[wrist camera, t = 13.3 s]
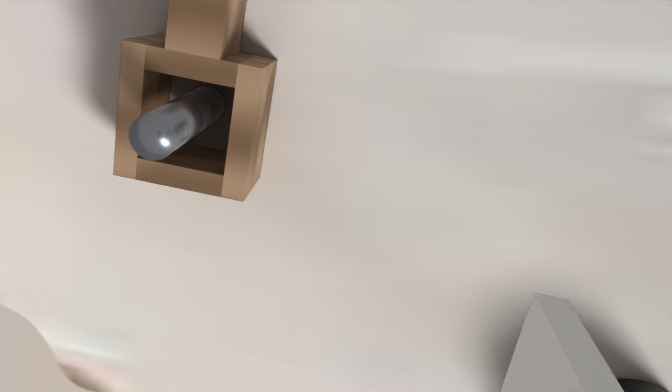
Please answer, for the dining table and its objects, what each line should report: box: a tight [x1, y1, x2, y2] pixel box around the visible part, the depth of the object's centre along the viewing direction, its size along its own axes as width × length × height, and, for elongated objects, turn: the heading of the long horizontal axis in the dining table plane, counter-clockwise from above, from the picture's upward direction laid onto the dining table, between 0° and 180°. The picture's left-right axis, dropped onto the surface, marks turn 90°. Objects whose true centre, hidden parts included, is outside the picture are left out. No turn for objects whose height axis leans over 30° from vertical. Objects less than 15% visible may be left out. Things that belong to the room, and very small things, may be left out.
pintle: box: [129, 86, 225, 161], centre depth 34 cm, size 2×2×10 cm
